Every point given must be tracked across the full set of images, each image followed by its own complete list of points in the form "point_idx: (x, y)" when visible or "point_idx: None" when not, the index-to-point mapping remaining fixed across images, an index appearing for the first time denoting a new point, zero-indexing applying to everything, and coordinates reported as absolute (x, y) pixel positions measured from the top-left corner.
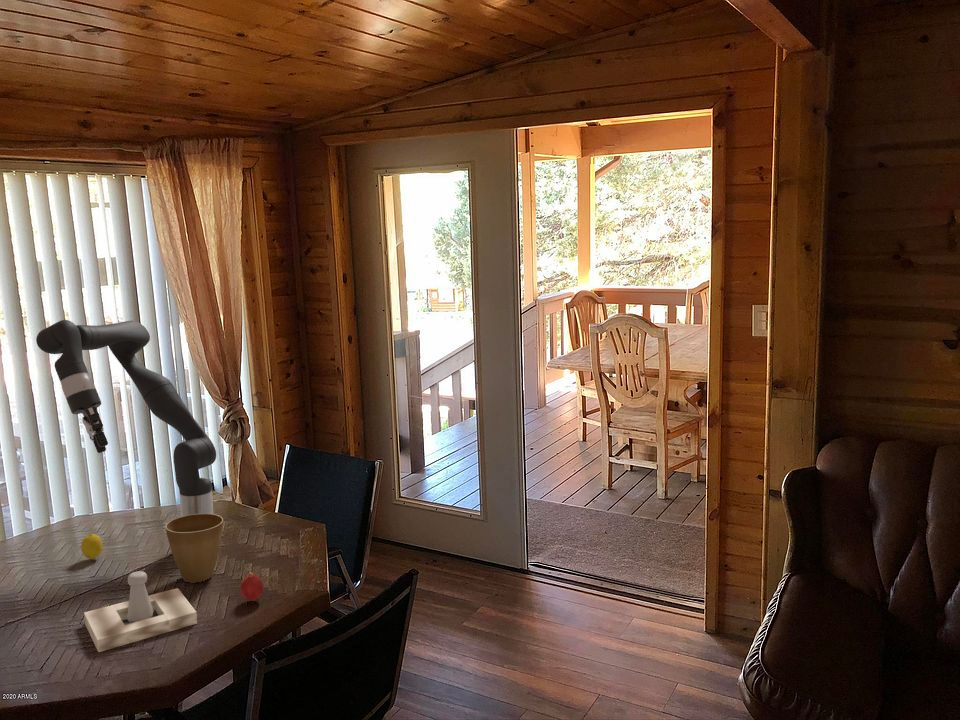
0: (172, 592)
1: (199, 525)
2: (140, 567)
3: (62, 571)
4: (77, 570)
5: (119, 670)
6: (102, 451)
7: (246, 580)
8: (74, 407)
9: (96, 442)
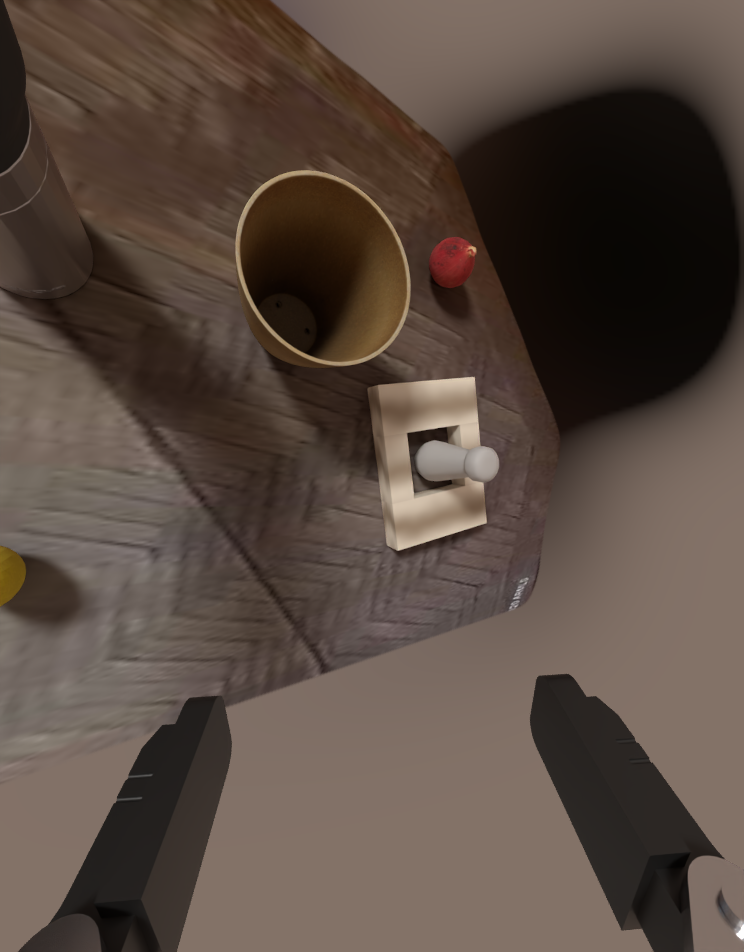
0: (392, 398)
1: (243, 245)
2: (147, 438)
3: (68, 636)
4: (81, 597)
5: (519, 493)
6: (226, 720)
7: (469, 267)
8: None
9: (185, 888)
